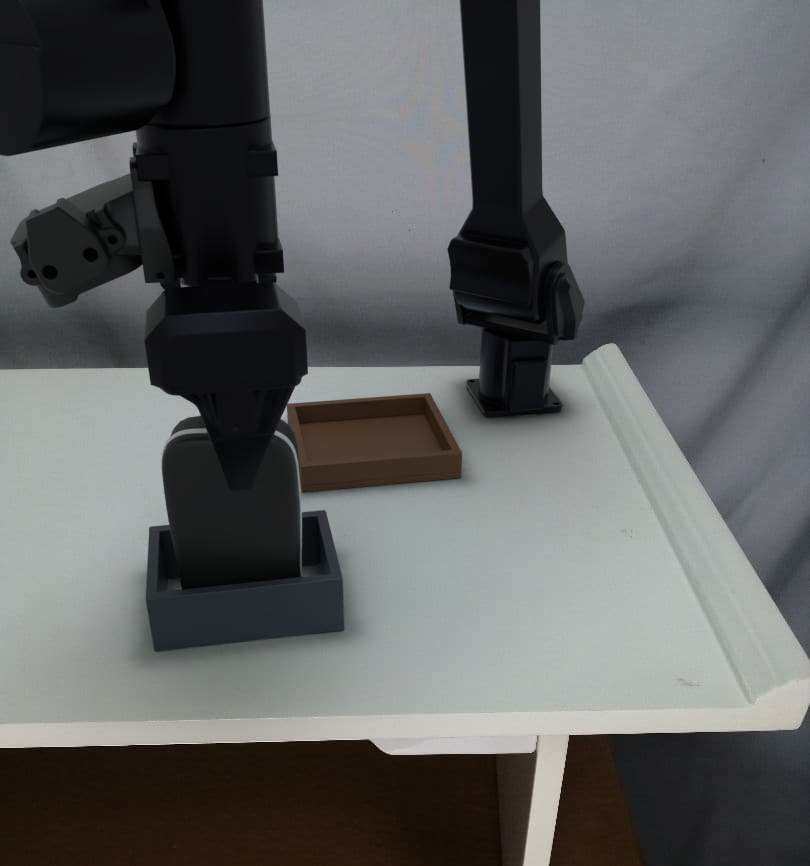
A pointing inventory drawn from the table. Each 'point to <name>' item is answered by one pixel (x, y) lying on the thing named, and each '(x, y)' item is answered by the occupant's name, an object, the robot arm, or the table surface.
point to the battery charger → (232, 511)
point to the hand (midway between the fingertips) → (235, 444)
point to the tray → (372, 442)
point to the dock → (245, 597)
